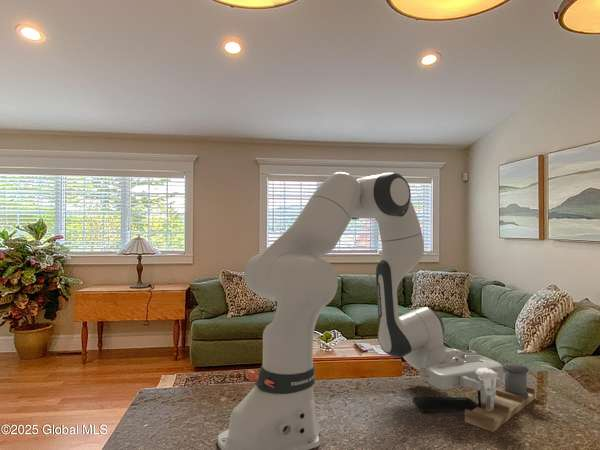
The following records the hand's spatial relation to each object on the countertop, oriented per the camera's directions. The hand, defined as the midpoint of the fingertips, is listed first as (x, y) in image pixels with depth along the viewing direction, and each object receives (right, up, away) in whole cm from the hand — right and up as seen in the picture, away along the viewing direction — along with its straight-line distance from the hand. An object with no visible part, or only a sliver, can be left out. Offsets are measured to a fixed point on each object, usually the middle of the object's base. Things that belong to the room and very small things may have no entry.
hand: (490, 384), depth 95 cm
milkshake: (0, -6, +1) cm, 6 cm away
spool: (+12, -7, +12) cm, 19 cm away
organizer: (+6, -8, +6) cm, 12 cm away
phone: (-8, -9, +8) cm, 14 cm away
